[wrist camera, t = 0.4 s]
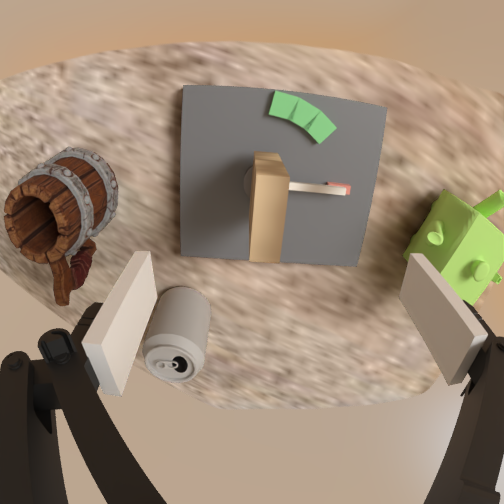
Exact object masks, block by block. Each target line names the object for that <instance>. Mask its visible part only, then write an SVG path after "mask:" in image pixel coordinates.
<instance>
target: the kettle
mask: <svg viewBox="0 0 504 504" xmlns="http://www.w3.org/2000/svg"><path fill="white" fill-rule="evenodd" d="M503 207H504V193H503V192H502V190H498V191H497V192H495V193H494V194H493V195H491V196H490V197H488V198H487V199H485V200H483V201H482V202H480V203H479V204H477V205H476V206H474V207H473V208H472V207H471V206H469V205H468V204H466V203H465V202H463V201H462V200H460V199H459V198H457V197H456V196H454V195H453V194H451V193H449V192H448V191H446V190H445V189H443V191H442V193H441V194H440V196H439V198H438V199H437V200H436V201H434V202H433V203H432V205H431V211H430V213H429V214H428V216H427V218H426V219H425V221H424V222H423V224H422V226H421V227H420V229H419V230H418V232H417V233H416V234H414V235H413V236H412V237H411V239H410V244H409V246H408V247H407V249H406V250H405V252H404V253H403V255H402V256H403V257H404V258H405V259H406V261H407V262H408V261H409V256H410V253H422V254H423V255H424V256H425V257H426V258H427V259H428V260H429V262H430V263H431V264H432V265H433V266H434V267H435V268H436V270H437V271H438V272H439V273H440V274H441V275H442V277H443V278H444V279H445V280H446V281H447V282H448V284H449V285H450V286H451V287H452V288H453V290H454V291H455V292H456V293H457V295H458V296H459V297H460V298H461V299H462V300H465V301H466V302H468V303H469V304H471V305H472V306H473V304H474V303H475V302H476V300H477V299H478V298H479V296H480V295H481V294H482V292H483V291H484V290H485V288H486V287H487V285H488V284H489V283H490V281H493V282H495V283H497V284H499V283H500V281H501V280H502V277H501V276H500V275H499V274H498V273H497V271H498V269H499V268H500V266H501V265H502V263H503V262H504V234H503V233H502V232H501V231H500V230H498V229H497V228H496V227H495V226H494V225H493V224H492V223H491V222H490V221H489V220H487V219H486V218H487V217H489V216H490V215H492V214H493V213H495V212H496V211H498V210H500V209H501V208H503Z"/></svg>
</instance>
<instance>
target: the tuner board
mask: <svg viewBox="0 0 504 504" xmlns="http://www.w3.org/2000/svg"><path fill="white" fill-rule="evenodd" d="M386 113H387V108H386V107H382V106H377V105H373V104H368V103H363V102H358V101H352V100H347V99H341V98H335V97H329V96H323V95H316V94H309V93H301V92H293V91H284V90H274V89H263V88H250V87H234V86H208V85H183V101H182V123H181V157H180V239H181V256H189V257H204V258H220V259H236V260H249V208H250V198H249V197H248V196H247V194H246V193H245V190H244V176H245V173H246V171H247V170H248V168H249V167H251V166H252V165H253V158H254V151H261V152H273V153H278V154H279V156H280V158H281V160H282V162H283V164H284V166H285V168H286V170H287V172H288V174H289V176H290V181H292V182H303V183H313V184H322V185H332V186H340V187H345V188H346V194H345V196H344V195H335V194H326V193H316V192H306V191H295V190H289V191H288V200H287V208H286V216H285V224H284V232H283V240H282V248H281V255H280V262H284V263H301V264H318V265H336V266H353V267H357V264H358V260H359V256H360V251H361V247H362V243H363V239H364V234H365V230H366V226H367V221H368V217H369V212H370V207H371V202H372V197H373V192H374V187H375V182H376V177H377V171H378V165H379V160H380V154H381V148H382V141H383V135H384V128H385V121H386Z"/></svg>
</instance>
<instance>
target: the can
mask: <svg viewBox="0 0 504 504" xmlns="http://www.w3.org/2000/svg"><path fill="white" fill-rule="evenodd" d="M210 318H211V305H210V304H209V302H208V300H207V298H206V297H205V296H204V295H202V294H201V293H200V292H198V291H196V290H194V289H191V288H187V287H175V288H172V289H169V290H167V291H166V292H165V293H163V295H162V296H161V298H160V300H159V302H158V305H157V308H156V311H155V313H154V316H153V319H152V322H151V324H150V327H149V330H148V333H147V335H146V338H145V341H144V344H143V350H142V353H143V356H144V359H145V365H146V367H147V369H148V370H149V371H150V372H151V373H152V374H153V375H154V376H156V377H157V378H159V379H161V380H163V381H167V382H171V383H182V382H187V381H189V380H191V379H193V378H194V377H195V376H196V374H197V373H198V372H199V371H200V370H201V369H202V368H203V365H204V361H205V354H206V347H207V339H208V332H209V325H210Z"/></svg>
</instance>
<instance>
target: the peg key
mask: <svg viewBox="0 0 504 504" xmlns="http://www.w3.org/2000/svg"><path fill="white" fill-rule="evenodd" d="M244 190H245V193H246V194H247V196H248V197H249V198H250V208H249V262H266V263H280V255H281V248H282V240H283V232H284V224H285V216H286V208H287V200H288V191H289V190H295V191H306V192H316V193H326V194H335V195H344V196H345V194H346V188H345V187H340V186H332V185H322V184H313V183H303V182H292V181H290V176H289V174H288V172H287V170H286V168H285V166H284V164H283V162H282V160H281V158H280V156H279V154H278V153H273V152H261V151H254V158H253V165H252V166H251V167H249V168H248V170H247V171H246V173H245V176H244Z"/></svg>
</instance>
